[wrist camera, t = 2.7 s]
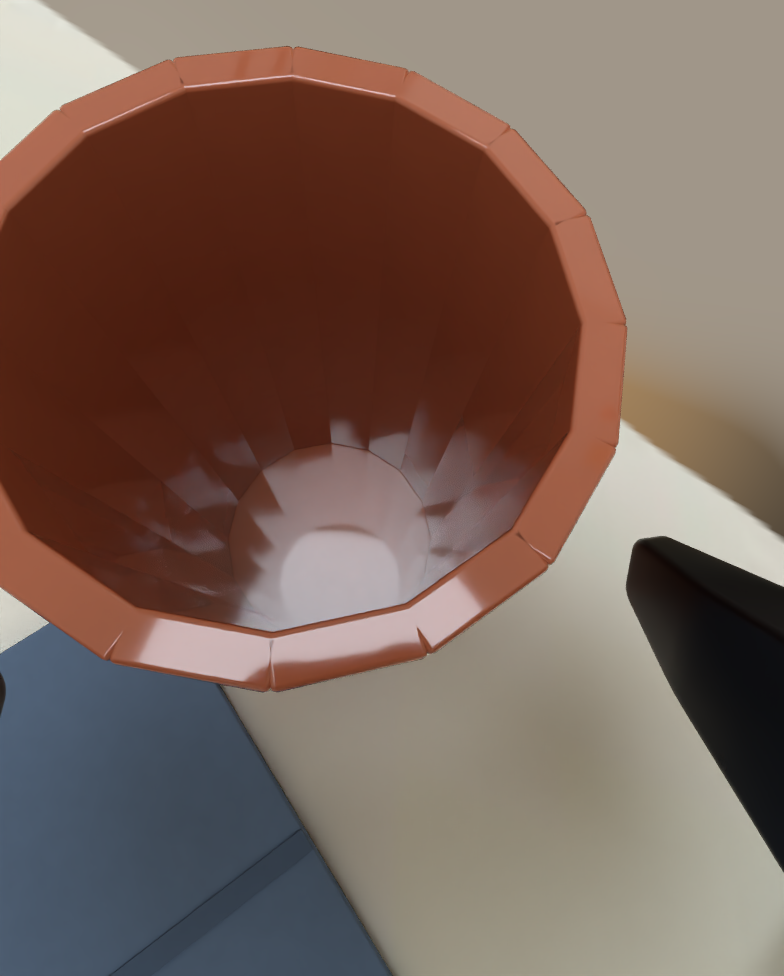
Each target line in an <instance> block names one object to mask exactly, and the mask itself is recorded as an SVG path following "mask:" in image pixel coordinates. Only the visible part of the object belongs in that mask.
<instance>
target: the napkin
mask: <svg viewBox="0 0 784 976" xmlns="http://www.w3.org/2000/svg"><path fill="white" fill-rule="evenodd" d="M0 673H1V674H2V676H3V678H4V681H5V685H6V697H5V701H4V705H3V709H2V713H1V717H0V976H393V975H392V974H391V972H390V970H389V969H388V967H387V965H386V964H385V962H384V960H383V959H382V957H381V955H380V954H379V952H378V950H377V949H376V947H375V945H374V944H373V942H372V940H371V938H370V937H369V935H368V933H367V932H366V930H365V928H364V927H363V925H362V923H361V922H360V920H359V918H358V917H357V915H356V913H355V912H354V910H353V908H352V907H351V905H350V903H349V902H348V900H347V898H346V897H345V895H344V893H343V891H342V890H341V888H340V886H339V885H338V883H337V881H336V880H335V878H334V876H333V875H332V873H331V871H330V870H329V868H328V866H327V865H326V863H325V861H324V860H323V858H322V856H321V855H320V853H319V851H318V850H317V848H316V846H315V844H314V843H313V841H312V839H311V838H310V836H309V834H308V833H307V831H306V829H305V828H304V826H303V824H302V823H301V821H300V819H299V818H298V816H297V814H296V813H295V811H294V809H293V808H292V806H291V804H290V803H289V801H288V799H287V797H286V796H285V794H284V792H283V791H282V789H281V787H280V786H279V784H278V782H277V781H276V779H275V777H274V776H273V774H272V772H271V771H270V769H269V767H268V766H267V764H266V762H265V761H264V759H263V757H262V755H261V754H260V752H259V750H258V749H257V747H256V745H255V744H254V742H253V740H252V739H251V737H250V735H249V734H248V732H247V730H246V729H245V727H244V725H243V724H242V722H241V720H240V719H239V717H238V715H237V714H236V712H235V710H234V708H233V707H232V705H231V703H230V702H229V700H228V698H227V697H226V695H225V693H224V692H223V690H222V688H221V687H220V685H219V684H215V683H210V682H204V681H199V680H194V679H188V678H183V677H178V676H172V675H167V674H162V673H156V672H151V671H146V670H140V669H135V668H130V667H124V666H119V665H115V664H113V663H112V662H111V661H104V660H102V659H100V658H99V657H98V656H96V655H95V654H93V653H92V652H90V651H89V650H88V649H86V648H85V647H83V646H82V645H81V644H79V643H78V642H76V641H75V640H74V639H72V638H71V637H69V636H68V635H67V634H65V633H64V632H62V631H61V630H59V629H58V628H57V627H55V626H54V625H52V624H51V623H49V624H47V625H46V626H44V627H43V628H41V629H39V630H38V631H36V632H34V633H33V634H31V635H30V636H28V637H26V638H25V639H23V640H22V641H20V642H18V643H17V644H15V645H14V646H12V647H10V648H9V649H7V650H5V651H4V652H2V653H1V654H0Z"/></svg>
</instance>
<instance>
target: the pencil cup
mask: <svg viewBox="0 0 784 976" xmlns="http://www.w3.org/2000/svg"><path fill="white" fill-rule="evenodd" d="M625 324H626V317H625V315H624V312H623V309H622V306H621V303H620V300H619V298H618V295H617V292H616V289H615V286H614V284H613V281H612V278H611V275H610V272H609V269H608V266H607V264H606V261H605V258H604V255H603V252H602V249H601V247H600V244H599V241H598V238H597V235H596V232H595V230H594V227H593V224H592V221H591V218H590V217H589V216H588V215H586V210H585V208H584V207H583V206H582V205H581V204H580V203H579V202H578V200H577V199H576V198H575V197H574V196H573V195H572V194H571V193H570V191H569V190H568V189H567V188H566V187H565V186H564V185H563V184H562V182H561V181H560V180H559V179H558V178H557V177H556V176H555V174H554V173H553V172H552V171H551V170H550V169H549V168H548V166H547V165H546V164H545V163H544V162H543V161H542V160H541V159H540V157H539V156H538V155H537V154H536V153H535V152H534V150H533V149H532V148H531V147H530V146H529V145H528V144H527V142H526V141H525V140H524V139H523V138H522V137H521V136H520V135H519V133H518V132H517V131H516V130H515V129H510V126H509V124H507V123H506V122H504V121H502V120H500V119H498V118H497V117H495V116H493V115H491V114H490V113H488V112H486V111H484V110H482V109H481V108H479V107H477V106H475V105H473V104H472V103H470V102H468V101H466V100H465V99H463V98H461V97H459V96H457V95H456V94H454V93H452V92H450V91H448V90H447V89H445V88H443V87H441V86H440V85H437V84H436V83H434V82H432V81H431V80H429V79H427V78H425V77H424V76H422V75H420V74H418V73H416V72H415V71H410V72H408V70H407V69H406V68H402V67H397V66H392V65H387V64H382V63H377V62H372V61H367V60H362V59H357V58H352V57H347V56H342V55H337V54H332V53H327V52H322V51H317V50H312V49H307V48H302V47H295V48H294V49H292V47H290V46H284V47H274V48H264V49H254V50H245V51H234V52H225V53H215V54H206V55H195V56H185V57H177V58H175V59H174V60H173V61H171V60H166V61H163V62H161V63H159V64H156V65H154V66H152V67H149V68H147V69H145V70H142V71H140V72H138V73H135V74H133V75H131V76H129V77H126V78H124V79H122V80H119V81H117V82H115V83H112V84H110V85H108V86H105V87H103V88H101V89H99V90H96V91H94V92H92V93H89V94H87V95H85V96H82V97H80V98H78V99H75V100H73V101H71V102H69V103H66V104H64V105H62V106H61V107H60V110H54V111H53V112H52V113H51V114H49V115H48V116H47V117H46V118H45V119H44V120H43V121H42V122H41V123H40V124H39V125H38V126H37V127H35V128H34V129H33V130H32V131H31V132H30V133H29V134H28V135H27V136H26V137H25V138H24V139H23V140H21V141H20V142H19V143H18V144H17V145H16V146H15V147H14V148H13V149H12V150H11V151H10V152H8V153H7V154H6V155H5V156H4V157H3V158H2V159H1V160H0V588H2V589H3V590H5V591H6V592H7V593H9V594H10V595H12V596H13V597H14V598H16V599H17V600H19V601H20V602H21V603H23V604H24V605H26V606H27V607H28V608H30V609H31V610H33V611H34V612H36V613H37V614H38V615H40V616H41V617H43V618H44V619H45V620H47V621H48V622H50V623H51V624H52V625H54V626H55V627H57V628H58V629H59V630H61V631H62V632H64V633H65V634H67V635H68V636H69V637H71V638H72V639H74V640H75V641H76V642H78V643H79V644H81V645H82V646H83V647H85V648H86V649H88V650H89V651H90V652H92V653H93V654H95V655H96V656H98V657H99V658H100V659H102V660H104V661H111V662H112V663H113V664H115V665H119V666H124V667H130V668H135V669H140V670H146V671H151V672H156V673H162V674H167V675H172V676H178V677H183V678H188V679H194V680H199V681H204V682H210V683H215V684H221V685H226V686H231V687H237V688H242V689H247V690H253V691H258V692H267V691H270V690H272V691H274V692H281V691H285V690H290V689H294V688H298V687H303V686H307V685H311V684H316V683H320V682H324V681H329V680H333V679H338V678H342V677H346V676H351V675H355V674H359V673H364V672H368V671H373V670H377V669H381V668H386V667H390V666H394V665H399V664H403V663H408V662H412V661H416V660H421V659H423V658H425V657H426V656H427V654H434V653H436V652H437V651H439V650H440V649H442V648H443V647H444V646H446V645H447V644H448V643H450V642H451V641H452V640H454V639H455V638H456V637H458V636H459V635H461V634H462V633H463V632H465V631H466V630H467V629H469V628H470V627H471V626H473V625H474V624H475V623H477V622H478V621H480V620H481V619H482V618H484V617H485V616H486V615H488V614H489V613H490V612H492V611H493V610H495V609H496V608H497V607H499V606H500V605H501V604H503V603H504V602H505V601H507V600H508V599H509V598H511V597H512V596H514V595H515V594H516V593H518V592H519V591H520V590H522V589H523V588H524V587H526V586H527V585H529V584H530V583H531V582H533V581H534V580H535V579H537V578H538V577H539V576H541V575H542V574H543V573H545V572H546V571H547V569H548V566H550V565H551V564H553V563H554V562H555V560H556V558H557V557H558V555H559V553H560V551H561V550H562V548H563V546H564V544H565V542H566V541H567V539H568V537H569V535H570V534H571V532H572V530H573V528H574V526H575V525H576V523H577V521H578V519H579V518H580V516H581V514H582V512H583V510H584V509H585V507H586V505H587V503H588V502H589V500H590V498H591V496H592V494H593V493H594V491H595V489H596V487H597V486H598V484H599V482H600V480H601V478H602V477H603V475H604V473H605V471H606V470H607V468H608V466H609V464H610V462H611V461H612V459H613V457H614V455H615V451H616V449H615V448H616V447H617V445H618V440H619V428H620V415H621V402H622V390H623V389H622V388H623V377H624V365H625V352H626V338H627V326H626V325H625Z"/></svg>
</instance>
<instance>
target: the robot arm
mask: <svg viewBox="0 0 784 976" xmlns="http://www.w3.org/2000/svg"><path fill="white" fill-rule="evenodd" d="M626 591H627V596H628V599H629V601H630V603H631V606H632V608H633V610H634V612H635V614H636V616H637V618H638V620H639V622H640V624H641V627H642V629H643V631H644V633H645V635H646V637H647V639H648V641H649V643H650V645H651V648H652V650H653V652H654V654H655V656H656V658H657V660H658V662H659V664H660V666H661V668H662V671H663V673H664V675H665V677H666V679H667V681H668V683H669V685H670V686H671V688H672V690H673V692H674V694H675V696H676V697H677V699H678V701H679V702H680V704H681V706H682V708H683V709H684V711H685V712H686V714H687V716H688V717H689V719H690V721H691V722H692V724H693V725H694V727H695V729H696V730H697V732H698V734H699V735H700V737H701V739H702V740H703V742H704V743H705V745H706V747H707V748H708V750H709V752H710V753H711V755H712V756H713V758H714V760H715V761H716V763H717V765H718V766H719V768H720V770H721V771H722V773H723V774H724V776H725V778H726V779H727V781H728V783H729V784H730V786H731V787H732V789H733V791H734V792H735V794H736V796H737V797H738V799H739V801H740V802H741V804H742V805H743V807H744V809H745V810H746V812H747V814H748V815H749V817H750V818H751V820H752V822H753V823H754V825H755V827H756V828H757V830H758V831H759V833H760V835H761V836H762V838H763V840H764V841H765V843H766V845H767V846H768V848H769V849H770V851H771V853H772V854H773V856H774V858H775V859H776V861H777V862H778V864H779V866H780V867H781V869H782V871H783V872H784V587H782V586H780V585H778V584H775V583H773V582H771V581H768V580H766V579H764V578H761V577H759V576H757V575H755V574H752V573H750V572H748V571H745V570H743V569H741V568H738V567H736V566H734V565H731V564H729V563H727V562H724V561H722V560H720V559H717V558H715V557H713V556H710V555H708V554H706V553H704V552H701V551H699V550H697V549H694V548H692V547H690V546H687V545H685V544H683V543H680V542H678V541H676V540H673V539H671V538H669V537H666V536H657V537H651V538H644V539H639V540H638V541H636V542H635V544H634V545H633V549H632V554H631V559H630V565H629V570H628V575H627V581H626ZM5 697H6V685H5V681H4V678H3V676H2V674H1V673H0V717H1V713H2V709H3V705H4V701H5Z"/></svg>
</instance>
